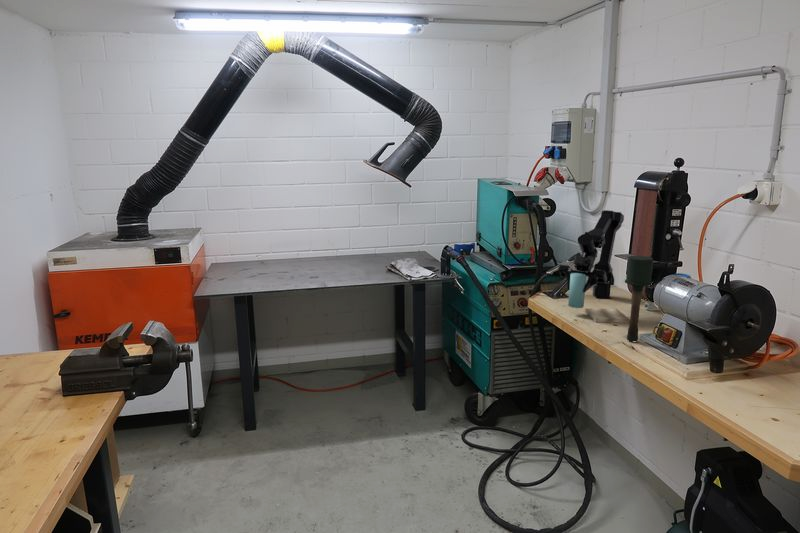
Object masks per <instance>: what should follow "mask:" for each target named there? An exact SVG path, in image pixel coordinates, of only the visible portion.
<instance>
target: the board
mask: <svg viewBox="0 0 800 533" xmlns="http://www.w3.org/2000/svg"><path fill="white" fill-rule="evenodd" d="M584 313H585V314H586V315H587V316H588V317H590V318H591V320H593V321H594V322H595V323H630V317H628V316H626V315H625V314H624V313H623V312H622V311H620V310H619V309H618V308H584Z"/></svg>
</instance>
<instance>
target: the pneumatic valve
mask: <svg viewBox="0 0 800 533" xmlns="http://www.w3.org/2000/svg"><path fill="white" fill-rule="evenodd" d="M642 300H643V301H645V303H644V309H645V310H648V311H649V312H653V311H655V312H656V311H658V308H657V307H656V306H655V305H654V303H653V302H650V301H648V300H645V299H643V298H642V299H641V301H642Z"/></svg>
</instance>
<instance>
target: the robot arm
mask: <svg viewBox="0 0 800 533" xmlns="http://www.w3.org/2000/svg"><path fill="white" fill-rule="evenodd" d="M600 213H601V215H600V217H599V218H598V221H597V223H596V225H595V227H594V228H593V229H591V230H589V231H585V232H584V233H583V234H581V235H579V237H577V243H578V247H579V249H580V251H581V255H574V258H573V262H572V264H574V269H573V268H571V267H570V265H569V264H560V265H558V268H557V270H558V273H559V276H560V277H562V278H566V279H567V283H566V284H567V291H569V288H570V274H572V273H581V274H585V275H586V278H587V279H586V284H585V287H584V290H583V292H584V293H585V294H586V292H587V291H588V290H590V288H592V294H591V295H592V296H593V297H595V298H596V299H612V296H611V286H614V285H615V276H614V274H613V267H612V265H611V261H612V260H611V259H612V256H613V255H612V254H613V250H614V244H615V240H616V234H617V232H618V231H619V230H620V229H621V228H622V224H624V220H625V214H622V211H613V210H609V209H608V210H606V209H605V210H602V211H601V212H600ZM598 249H601V251H600V256H599V260H598V262H596V263H595V261H596V258H597V257H598Z"/></svg>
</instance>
